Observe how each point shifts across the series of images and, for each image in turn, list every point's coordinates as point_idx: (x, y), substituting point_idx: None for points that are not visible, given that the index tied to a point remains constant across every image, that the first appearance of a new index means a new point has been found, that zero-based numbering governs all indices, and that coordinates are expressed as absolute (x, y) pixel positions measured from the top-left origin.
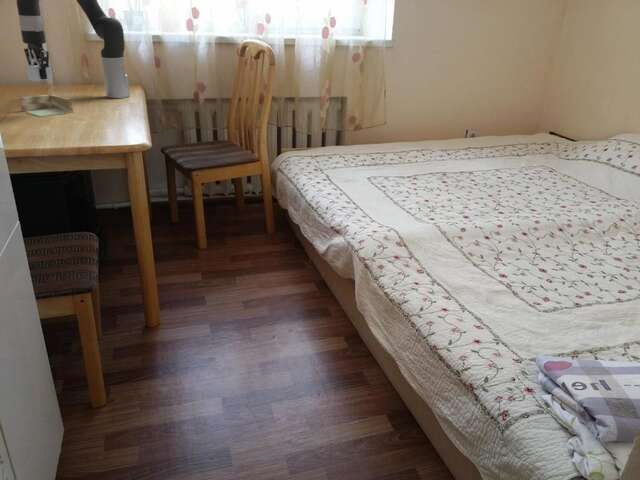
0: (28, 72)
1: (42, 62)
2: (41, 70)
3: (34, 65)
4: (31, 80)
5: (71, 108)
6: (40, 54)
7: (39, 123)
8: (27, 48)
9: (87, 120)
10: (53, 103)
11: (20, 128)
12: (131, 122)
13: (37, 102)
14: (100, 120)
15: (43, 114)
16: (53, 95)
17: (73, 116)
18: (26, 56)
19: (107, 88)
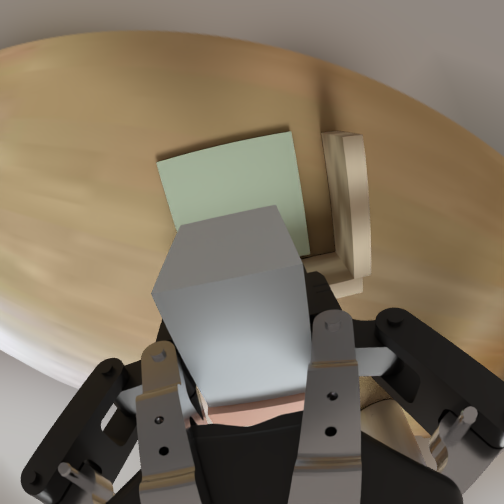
0: (268, 234)
1: (75, 401)
2: (162, 340)
3: (310, 345)
4: (229, 214)
5: None
6: (53, 470)
7: (54, 142)
8: (491, 461)
9: (58, 288)
10: (323, 265)
11: (17, 83)
12: (30, 352)
13: (340, 207)
14: (54, 314)
15: (185, 182)
16: (335, 290)
17: (130, 273)
18: (465, 362)
19: (385, 420)
